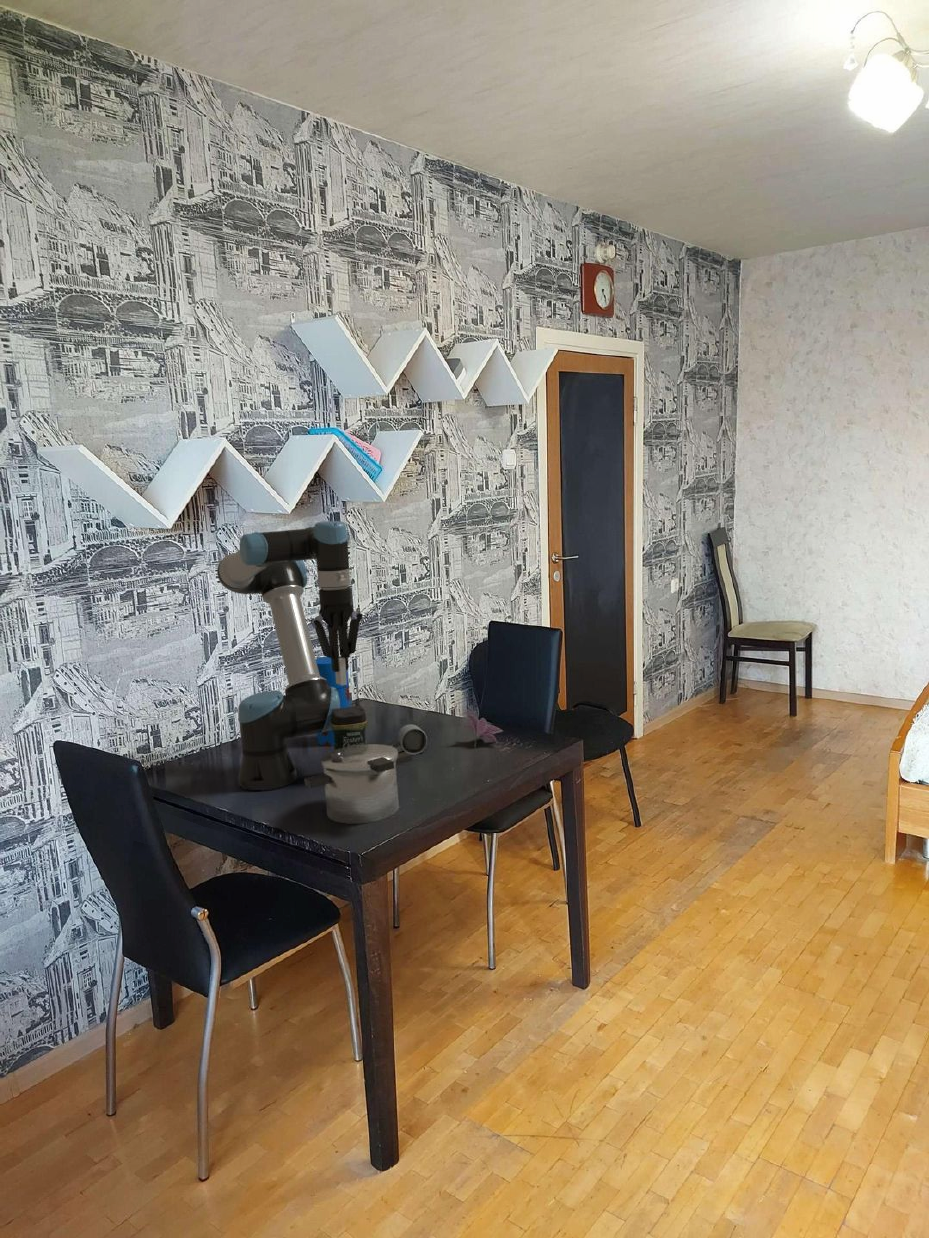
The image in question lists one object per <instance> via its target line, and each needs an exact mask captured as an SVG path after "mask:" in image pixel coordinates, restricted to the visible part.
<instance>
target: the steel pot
mask: <svg viewBox="0 0 929 1238" xmlns="http://www.w3.org/2000/svg"><path fill="white" fill-rule="evenodd" d="M412 758H413V755H411V754H409V753H406V752H404V751H403V752H399V753H398V759H397V760H396V761H395V762H394V769H390V770H386V771H383V772H376V771H374V770H367V771H360V772H334V771H329V770H326V769H324V768H323V767H322V769H323V773H320V774H316V775H311V776H308V777H304V778H303V779H304V785H305V786H306V787H308V788H309V789H313V788H317V787H321V786H324V793H325V794H324V795H325V805H326V814H327V818H329V819H330V820H332V821H334V822H337V823H341V824H350V825H352V824H353V825H354V824H355V825H356V824H367V823H369V824H370V823H373V822H378V821H381V820H384V819H386V818H390V817H392V815H394V814H396V813H397V812H398V811H399V807H400V805H399V803H400V802H399V791H398V790H399V789H398V779H397V766H398V765H402V764H406V763H410V762H412V761H413V759H412Z"/></svg>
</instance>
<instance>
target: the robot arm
mask: <svg viewBox="0 0 929 1238" xmlns="http://www.w3.org/2000/svg"><path fill="white" fill-rule="evenodd" d="M347 530H348V529H347V525H346V522H343V521H341V520H329V521H328V520H327V521H320V522H317V523H315V524H314V526H309V527H306V528H305V527H304V528H299V529H290V530H289V529H287V530H280V531H278V530H276V531H265V532H264V531H263V532H258V531H257V532H256V531H255V532H252V533H247V534H246V533H245V534H243V535H242V536H241V537H240V540H239V550H237V551H236V552H232V553H229V554H227V555H225V557H223V558H222V559H221V560H220V562H218V565H217V568H216V570H217V571H216V572H217V573H216V575H217V578H218V582H219V583H220V584H221V585H222V586H223V587H224V588H225V589H227V590H229V591H231V592H234V593H237V594H241V595H255V594H261V598H262V601H263V602H265V603H266V604H268V605H269V606H270V610H271V615H272V618H273V622H274V623H273V624H274V627H275V631H276V636H277V640H278V644H279V648H280V652H281V656H282V660H283V665H284V669H285V673H286V676H287V682H288V684H287V685H286V687H285V689H284V694H283V693H282V692H281V691H280V690H269V691H268V690H267V691H266V690H265V691H262V692H257V693H254V694H252V695H250V696H247V697H246V698H245V697H244V699H242V700H241V701H240V702H239V704H238V707H237V708H238V710H237V711H238V719H237V721H238V722H239V723H238V724H239V730H240V731H239V732H240V733H239V734H240V742H241V750H242V756H241V757H242V758H241V761H240V766H239V770H238V775H237V779H238V780H237V781H238V786H239V785H240V786H241V787H243V788H245V789H244V790H246V789H250V790H249V791H253V790H261V791H270V790H275V789H280V788H283V787H285V786H289V785H291V784H292V783H294V782H296V780H297V778H298V777H297V776H298V775H297V774H298V773H297V769H296V766H295V763H294V762H293V759H292V757H291V755H290V753H289V749H288V742H287V741H288V740H290V739H295V738H300V737H305V736H310V735H317V733H322V732H326V731H330V730H332V728H331V712H332V709H338V708H340V700H339V695H338V692H337V690H336V688H334V687H328V683H327V680H326V679H325V678H323V677H321V676H320V674H319V671H318V667H317V663H316V659H317V658H316V655H315V651H314V648H313V644H312V639H311V636H310V631H309V628H308V623H307V620H306V616H305V613H304V609H303V608H304V607H303V604H302V601H301V597H302V595H303V594H304V588H305V587H306V586H307V584H308V575H307V573H308V571H307V567H306V564H305V561H310V560H315V561H316V571H317V583H318V584H317V586H318V587H319V590H318V596H319V597H318V598H319V607H320V608H319V611H318V615H317V616H316V617H315V618H311V619H310V621H309V622H310V624H311V625H312V626H313V628H314V630H315V633H316V636H317V640H318V642H319V646H320V649H321V651H322V655H323V656H324V657H329V658H331V662H332V670H333V671H334V672H335V674H336V683H337V684H339V685H346V684H347V679H346V670H349V669H350V666H349V658H350V657H351V655H352V654H355V652H356V648H357V642H358V635H359V628H360V623H361V621H362V618H363V613H360V612H357V611H355V610H354V607H353V605H352V588H351V587H350V585H351V575H350V558H349V542H348V540H349V536H348V531H347ZM349 620H350V621H349ZM348 622H350V623H349V624H348ZM324 623H325V624H326V628H327V631H328V635H327V633H326V631H325V627H324V626H323V625H324ZM327 636H328V637H327ZM240 786H239V787H240ZM241 787H240V788H241ZM243 788H242V789H243Z"/></svg>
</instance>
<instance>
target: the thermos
mask: <svg viewBox="0 0 929 1238" xmlns="http://www.w3.org/2000/svg"><path fill="white" fill-rule="evenodd" d="M315 659H316V663H317V667H318V671H319V674H320V676H321V677H323V678H325V679H326V680H327V683H328V687H334V688H336V690H337V692H338V695H339V700H340V708H346V707H352V706H351V695H350V684H349V683H350V681H349V671H348V670H349V669H348V670H346V679H347V684H346V685H339V684H337V683H336V674H335V672H334V671H333V670H332V662H331V658H329V657H326V656H324V657H318V658H315ZM316 737H317V744H318V745H320V746H323V747H324V746H325V747H334V732H333V730H330V731H326V732H322V733H316Z"/></svg>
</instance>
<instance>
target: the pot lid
mask: <svg viewBox="0 0 929 1238" xmlns="http://www.w3.org/2000/svg"><path fill="white" fill-rule="evenodd" d="M398 754H399V753H398V750H397V749H396V748H394V747H391V745H388V744H375V743H374V744H373V743H372V744H370V743H368V744H367V743H366V745H356V746H350V747H345V748H341V749H337V750H332V751H329V752H327V753H325V754H324V755H323V756H322V757H321V759H320V763H321V767H322V769H323V768H324V769H326V770H329V771H334V772H360V771H367V770H374V771H376V772H383V771H386V770H390V769H394V762H395V761H396V760H397V759H398Z"/></svg>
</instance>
